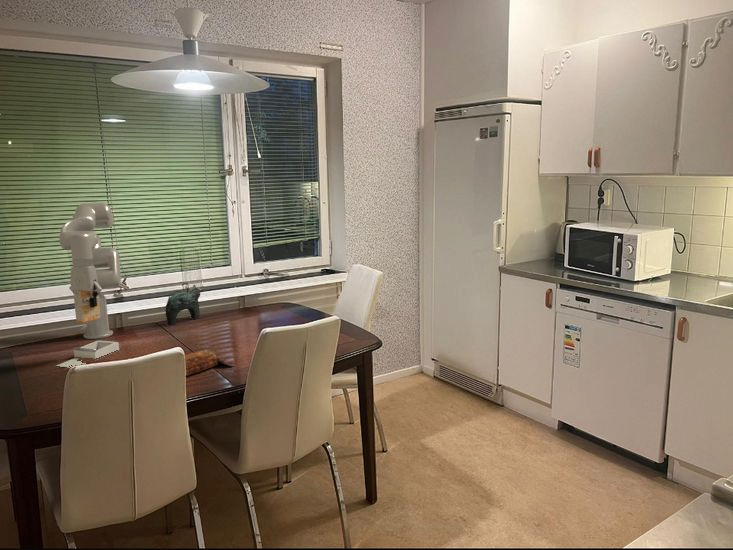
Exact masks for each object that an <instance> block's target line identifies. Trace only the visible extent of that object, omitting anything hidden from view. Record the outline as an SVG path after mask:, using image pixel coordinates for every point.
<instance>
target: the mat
mask: <svg viewBox="0 0 733 550" xmlns="http://www.w3.org/2000/svg"><path fill="white" fill-rule="evenodd" d="M78 359H79V358H74V357H73V358H71V359H69V360H67V361H64V362H62V363H59V364H57V365H55V366H60V367H67V368H66V369H68V368H70V367H72V366H75V365H81V364H86V363H82V362H81V361H82V360H81V361H77V360H78ZM71 365H72V366H71ZM69 366H70V367H69Z"/></svg>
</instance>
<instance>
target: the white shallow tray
mask: <svg viewBox="0 0 733 550" xmlns="http://www.w3.org/2000/svg"><path fill="white" fill-rule="evenodd" d="M72 349H73V358H74V357H81V358H93V359H96V358H99V357H101V356H104V355H107V354H109V353H111V352H114V351H116V350H118V351H120V345H119V342H117V341H109V340H108V341H107V340H96V341H94V342H91V343H88V344H86V345H83V346H79V347H75V346H73V348H72ZM97 349H98V350H97ZM116 352H117V351H116ZM114 353H115V352H114ZM111 354H112V353H111ZM109 355H110V354H109ZM107 356H108V355H107ZM104 357H105V356H104Z"/></svg>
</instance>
